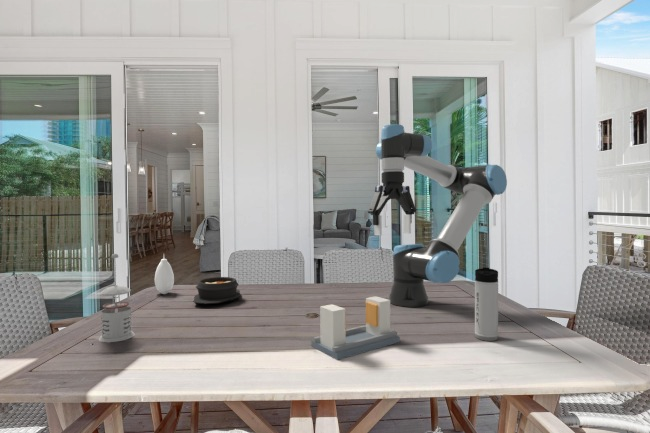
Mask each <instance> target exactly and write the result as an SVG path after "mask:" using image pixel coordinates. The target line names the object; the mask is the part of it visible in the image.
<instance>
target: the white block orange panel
mask: <svg viewBox="0 0 650 433" xmlns="http://www.w3.org/2000/svg"><path fill="white" fill-rule="evenodd" d="M365 325H366V332H368V333H370V334H373V335H375V336H376V335H380V334H384V333H388V332H391V303H390V300H389V298H387V299H386V298H383V297H380V296H369V297H366V298H365Z"/></svg>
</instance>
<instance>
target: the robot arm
mask: <svg viewBox="0 0 650 433" xmlns="http://www.w3.org/2000/svg"><path fill="white" fill-rule="evenodd" d="M432 148H433V142H432V138H431V137H430V136H429V135H427V134H423V133H410V132H405V128H404V125H403V124H394V123H392V124H391V123H390V124H386V125H383V127H381V137H380V142H378V143H377V145H376V147H375V154H376V157H377V158H378V160H381V171H382V173H381V183H382V184H381V185H380V184H379V185H375V188H374V194H373V196H372V199H371V202H370V205H369V207H368V210H367V213H368V214H370V215H371V216H372V224H373V226H374V232H373V233H374V236H378V237H379V236H383V235H382V232H383V231H382V222H383V221H382V215H380V214H381V213H382V211H383V210H384V208H385V207H386V205H387V203H388V202H389V201H390V200H396V201H397V202H398V204H399V205H400V207H401V209H402V210H403V212H404V214H403V234H411V233H412V228H411V226H412V225H411V224H412V223H413V222H412V217H413V216H412V215H414V214H415V213H417V209H416V205H415V202H414V201H413V197H412V194H411V190H410V185H405V186H404V185H403V183H405V173H404V170H405V168H407V169H409V170H411V171H413V172H416V173H417V174H420V175H422V176H425V177H427V178H428V179H431V180H432V181H436V182H437V183H438V184H439V186H441V187H443V188H444V189H447V190H449V191H451V192H453V193H455V194H460V195H462V196H461V198H460V200H459V201H458V204H457V205H456V207H455V208H454V210H453V212H452V213H451V215H450V216H449V218H448V219H447V221H446V223H445V224H444V226H443V228H442V229H441V231H440V232H439V234H438V236H437V237H436V238H435V239H431V240H429V243H427V245H426V247H425V246H424V243H412V244H400V245H399V244H398V245H395V246H394V247H393V254H392V257H393V258H392V260H393V261H392V262H393V263H392V264H393V265H392V266H393V269H392V270H393V282H392V283H393V284H392V287H391V291H390V293H389V295H388V300H390V305H391V304H392V305H394V306H397V307H398V306H400V307H406V308H407V307H408V308H410V307H411V308H416V307H423V306H424V307H425V306H427V305H428V304H429V296H428V295H427V290H426V287H425V282H424V281H427V282H428V281H429V282H432V283H434V284H435V283H436V284H437V283H438V284H447V283H449V282H452V281H453V280H454V279H455V278H456V277H457V275H458V273H459V271H460V265H461V263H460V258H459V257H460V253H459V251H458V250H459V249H460V248H461V245H462V244H463V242H464V240H465V239H466V237H467V236H468V233H469V232H470V230H471V229H472V227H473V225H474V223H475V221H476V219H477V218H478V216H479V215H480V213H481V211H482V210H483V208H484V206H485V205H487V204H488V205H489V204H490V203H491V202H492V201H493V200H494V197H495V196H496V195H497V196H499V195H502V194H504V193H505V192H506V189H507V184H508V179H507V175H506V172H505V170H504V169H503V168H502V167H501V166H500V165H498V164H487V165H478V166H477V165H476V166H467V167H466V166H465V167H459V166H454V165H453V164H448V165H447V164H445V163H443V162H441V161H439V160H437V159H435V158H433V157H431V156H429V155H430V153H431V150H432Z"/></svg>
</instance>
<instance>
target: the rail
mask: <svg viewBox="0 0 650 433" xmlns="http://www.w3.org/2000/svg"><path fill="white" fill-rule="evenodd" d="M319 311H320V312H319V319H320V321H319V326H320V327H319V329H320V330H319V333H320V334H319V335H317V336H314V337H312V338H313V340H311V342H310V343H311V347H312V346H313V347H312V348H315V349H316V350H318V351H320V352H321V353H324V354H325V355H328V356H329V357H331V358H333V359H335V360H336V361H338V360H343V359H345V358H348V357H352V356H355V355H359V354H363V353H366V352H370V351H373V349H374V350H376V349H380V348H384V347H387V346H390V345H394V344H398V343H400V342H401V337H400V336H399V335H398V331H396V330H392V331H390V332H388V333H384V334H380V335H376V336H375V335H373V334H370V333H368V332H366V324H365V325H364V324H363V325H361V326H355V327H352V328H347V311H346V308H345V307H341V306H339V305H336V304H327V305H321V306H319ZM397 342H398V343H397ZM369 350H370V351H369Z"/></svg>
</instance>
